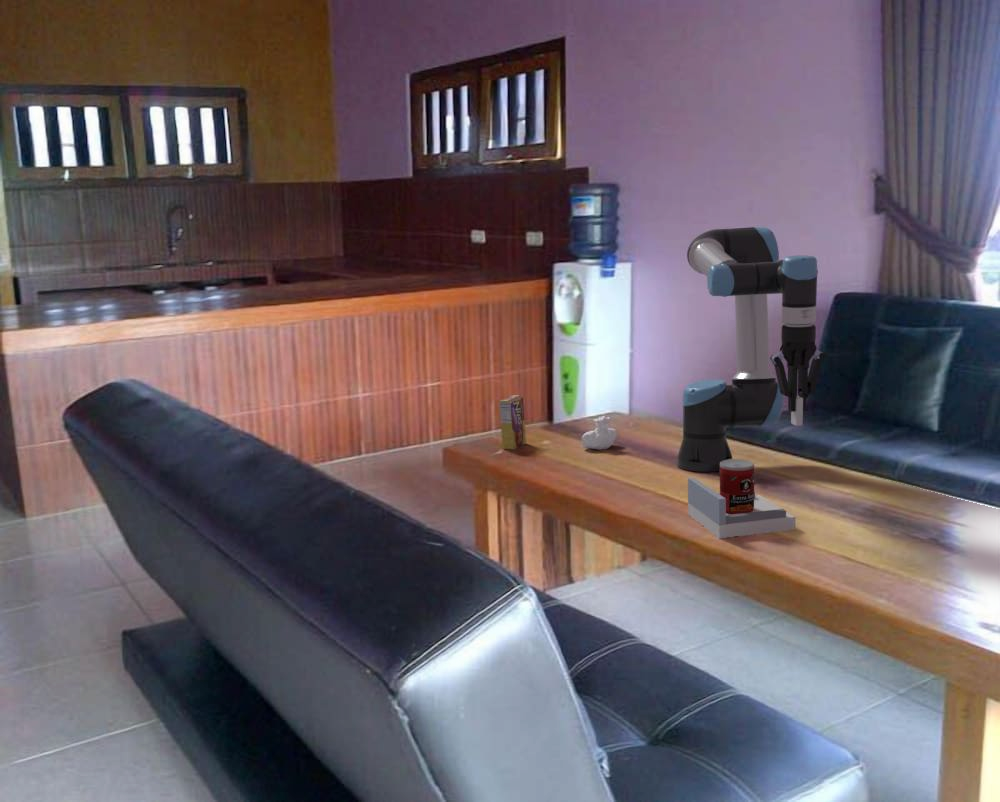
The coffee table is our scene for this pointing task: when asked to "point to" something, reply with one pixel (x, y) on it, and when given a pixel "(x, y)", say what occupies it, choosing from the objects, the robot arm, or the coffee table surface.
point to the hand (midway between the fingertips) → (796, 424)
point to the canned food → (737, 485)
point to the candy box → (512, 422)
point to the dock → (713, 514)
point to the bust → (600, 435)
